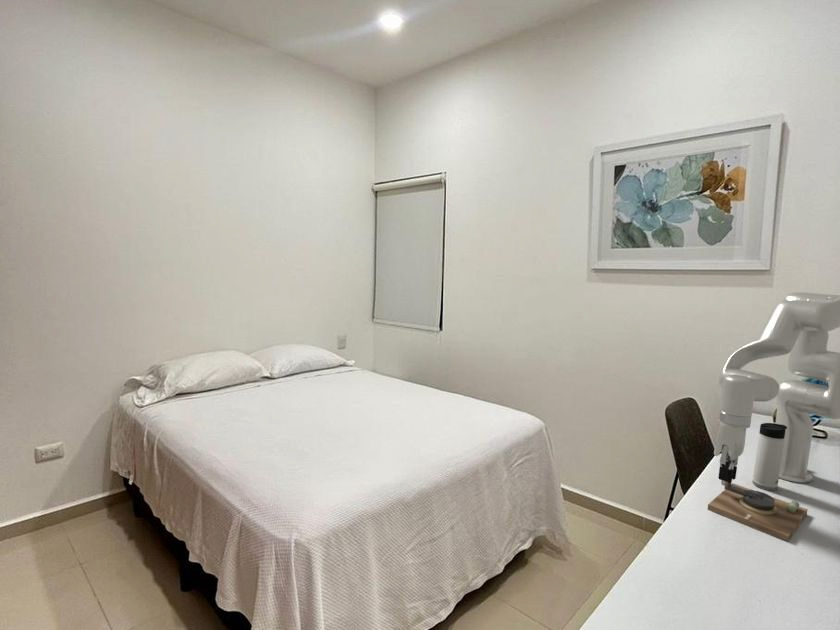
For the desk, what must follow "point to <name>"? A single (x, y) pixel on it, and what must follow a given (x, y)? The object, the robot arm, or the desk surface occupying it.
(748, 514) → the base
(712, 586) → the desk surface
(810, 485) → the desk surface
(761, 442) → the travel mug
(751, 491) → the grey rounded piece
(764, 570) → the desk surface
